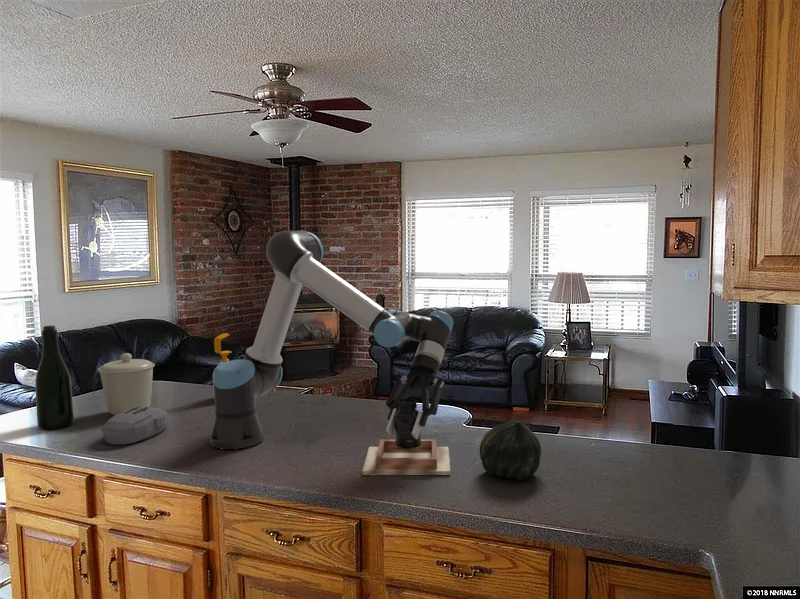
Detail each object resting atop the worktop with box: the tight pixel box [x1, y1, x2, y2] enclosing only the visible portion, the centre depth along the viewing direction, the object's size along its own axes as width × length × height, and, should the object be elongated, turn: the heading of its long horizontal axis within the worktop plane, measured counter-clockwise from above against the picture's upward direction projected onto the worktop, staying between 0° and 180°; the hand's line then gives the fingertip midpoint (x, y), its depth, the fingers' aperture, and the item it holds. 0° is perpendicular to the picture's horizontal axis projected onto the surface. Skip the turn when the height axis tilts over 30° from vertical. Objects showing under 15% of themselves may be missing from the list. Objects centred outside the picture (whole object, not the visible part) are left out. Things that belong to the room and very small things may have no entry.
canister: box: [97, 352, 156, 416], centre depth 213 cm, size 18×18×21 cm
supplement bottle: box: [394, 398, 422, 449], centre depth 160 cm, size 7×7×12 cm
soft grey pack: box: [101, 406, 170, 446], centre depth 188 cm, size 15×8×20 cm
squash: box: [479, 420, 542, 481], centre depth 151 cm, size 14×15×15 cm
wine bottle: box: [35, 325, 75, 431], centre depth 198 cm, size 10×10×33 cm
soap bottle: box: [212, 332, 233, 400], centre depth 230 cm, size 9×9×25 cm
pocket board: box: [361, 439, 451, 476], centre depth 161 cm, size 22×18×4 cm
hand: (401, 434), depth 157 cm, fingers closed on supplement bottle, 7 cm apart
